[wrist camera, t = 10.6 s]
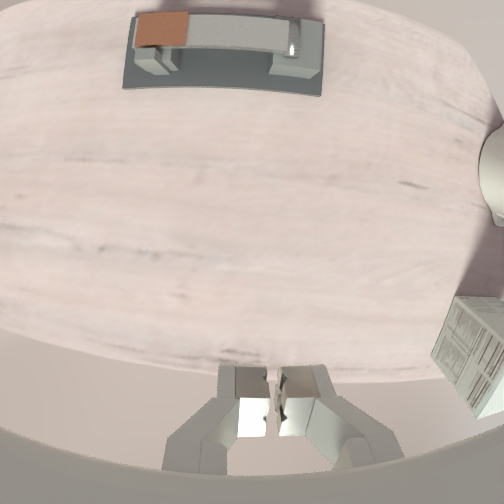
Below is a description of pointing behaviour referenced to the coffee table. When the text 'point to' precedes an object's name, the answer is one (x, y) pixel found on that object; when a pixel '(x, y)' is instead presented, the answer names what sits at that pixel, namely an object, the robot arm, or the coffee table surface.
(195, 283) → the coffee table surface
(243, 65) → the base
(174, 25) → the bar
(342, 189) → the coffee table surface
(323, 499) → the robot arm
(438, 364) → the supplement box
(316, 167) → the coffee table surface
